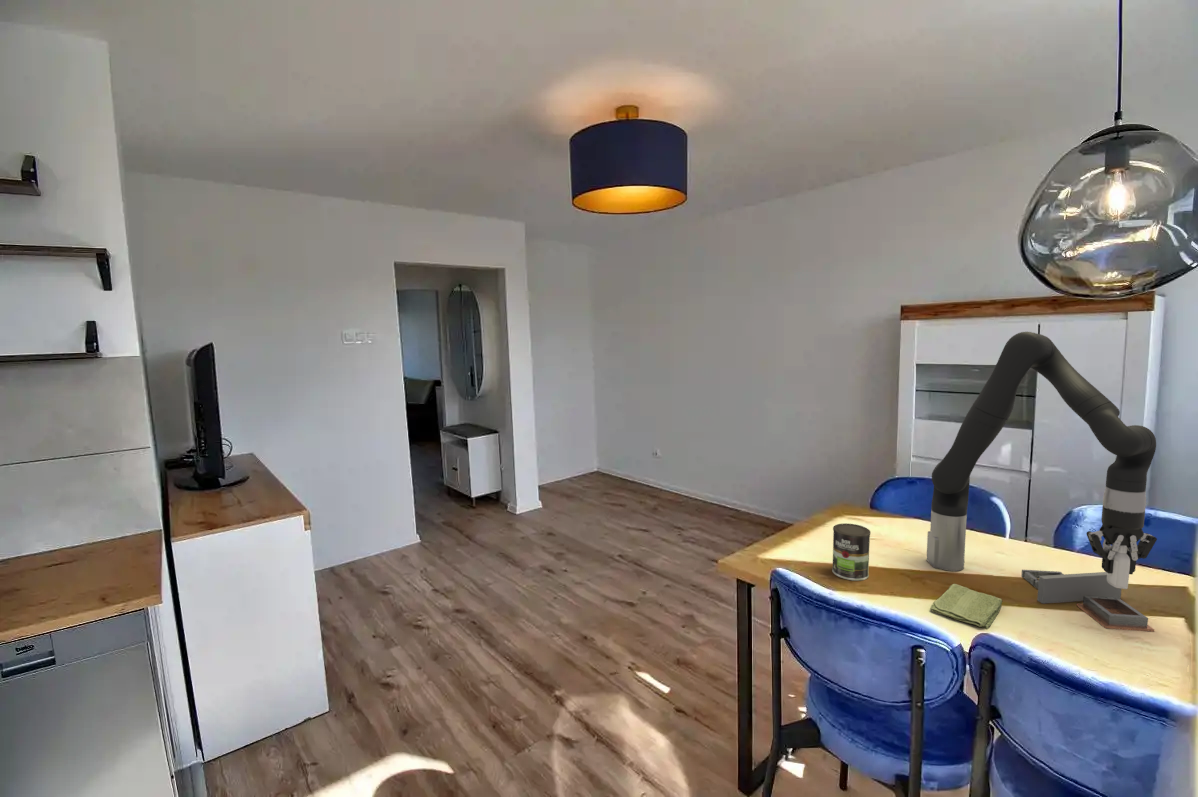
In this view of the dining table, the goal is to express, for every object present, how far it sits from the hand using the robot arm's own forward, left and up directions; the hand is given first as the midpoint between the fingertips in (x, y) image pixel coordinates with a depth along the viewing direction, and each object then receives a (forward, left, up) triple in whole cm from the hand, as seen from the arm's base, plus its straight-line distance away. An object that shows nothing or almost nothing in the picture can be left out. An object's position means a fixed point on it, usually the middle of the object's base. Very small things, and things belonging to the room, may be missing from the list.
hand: (1117, 572), depth 134 cm
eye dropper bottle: (0, 0, -3) cm, 3 cm away
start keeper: (-5, +18, -12) cm, 22 cm away
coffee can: (-58, +17, -12) cm, 62 cm away
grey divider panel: (-3, +9, -12) cm, 15 cm away
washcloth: (-33, -1, -13) cm, 36 cm away
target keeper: (0, 0, -12) cm, 12 cm away
